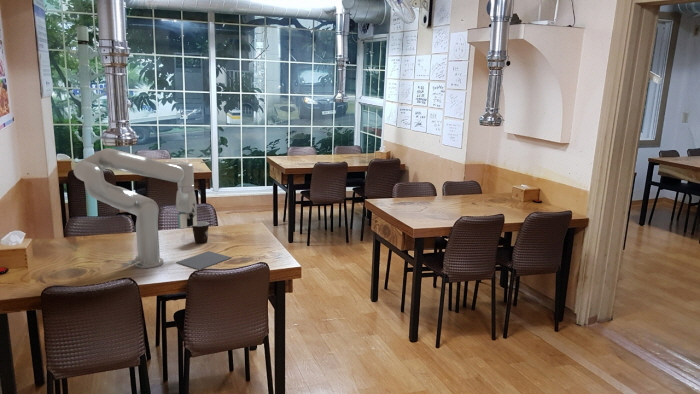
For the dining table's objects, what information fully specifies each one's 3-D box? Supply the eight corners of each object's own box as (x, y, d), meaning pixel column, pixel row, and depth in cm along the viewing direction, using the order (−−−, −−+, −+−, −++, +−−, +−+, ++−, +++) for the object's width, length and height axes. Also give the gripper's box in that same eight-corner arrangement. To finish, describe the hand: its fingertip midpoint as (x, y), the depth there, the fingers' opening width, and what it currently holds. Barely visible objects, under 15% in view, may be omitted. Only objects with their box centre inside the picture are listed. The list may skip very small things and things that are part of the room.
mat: (199, 270, 237) (199, 269, 237) (176, 262, 245) (176, 262, 245) (231, 258, 253) (231, 257, 253) (208, 251, 262) (208, 251, 262)
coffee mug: (199, 245, 271) (198, 227, 269) (189, 242, 276) (188, 224, 274) (217, 240, 280) (216, 222, 278) (207, 237, 285) (206, 219, 283)
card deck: (182, 229, 250) (181, 215, 249) (178, 228, 252) (177, 214, 250) (197, 225, 257) (196, 211, 256) (192, 224, 259) (192, 210, 258)
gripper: (168, 187, 252) (170, 224, 256) (191, 192, 243) (193, 230, 247) (180, 185, 258) (182, 221, 262) (203, 189, 249) (205, 226, 253)
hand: (187, 225), depth 254 cm, fingers closed on card deck, 3 cm apart
